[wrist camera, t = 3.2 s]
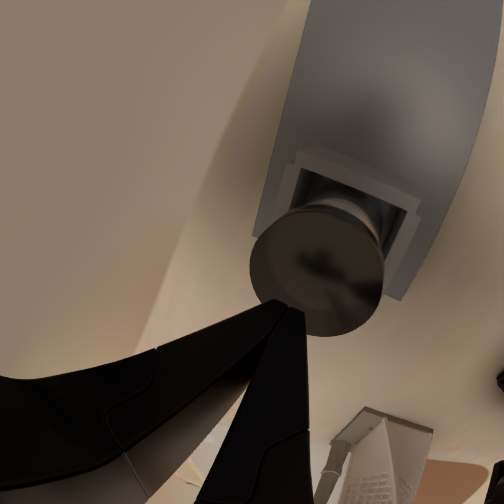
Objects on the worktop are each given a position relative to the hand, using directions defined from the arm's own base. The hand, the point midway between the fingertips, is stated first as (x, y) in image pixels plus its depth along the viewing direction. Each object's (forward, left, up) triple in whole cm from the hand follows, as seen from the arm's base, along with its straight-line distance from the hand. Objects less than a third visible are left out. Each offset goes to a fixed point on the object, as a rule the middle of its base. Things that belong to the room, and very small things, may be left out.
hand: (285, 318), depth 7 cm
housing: (+4, -12, -10) cm, 16 cm away
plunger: (0, 0, -8) cm, 8 cm away
